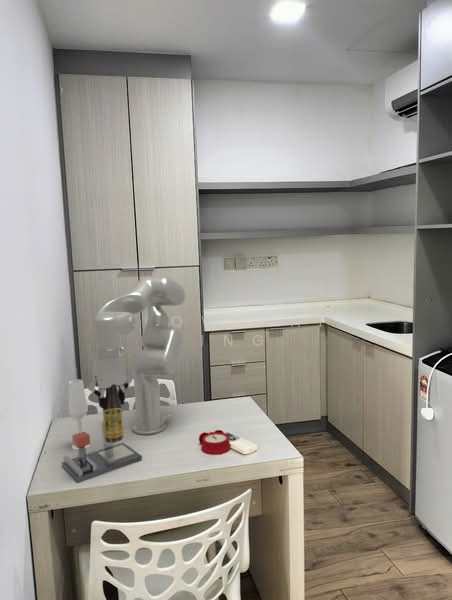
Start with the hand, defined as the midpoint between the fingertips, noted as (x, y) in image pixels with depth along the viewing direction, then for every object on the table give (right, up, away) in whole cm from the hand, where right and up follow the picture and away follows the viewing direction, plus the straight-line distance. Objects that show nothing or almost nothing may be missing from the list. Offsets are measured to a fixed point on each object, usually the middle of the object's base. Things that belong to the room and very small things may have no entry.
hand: (112, 405), depth 157 cm
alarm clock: (+34, -17, +9) cm, 39 cm away
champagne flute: (-15, -18, +14) cm, 27 cm away
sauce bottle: (+1, -12, +1) cm, 12 cm away
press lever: (-7, -18, -8) cm, 21 cm away
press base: (-3, -19, -1) cm, 19 cm away
